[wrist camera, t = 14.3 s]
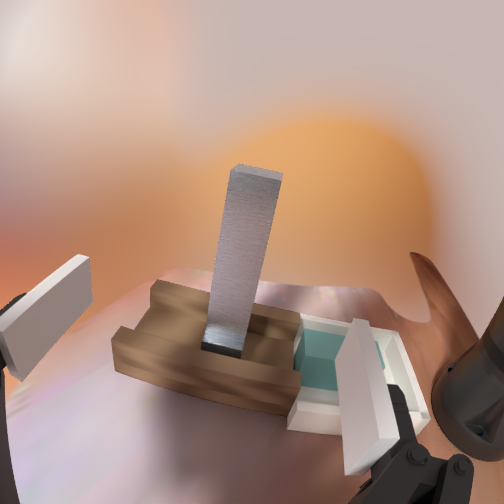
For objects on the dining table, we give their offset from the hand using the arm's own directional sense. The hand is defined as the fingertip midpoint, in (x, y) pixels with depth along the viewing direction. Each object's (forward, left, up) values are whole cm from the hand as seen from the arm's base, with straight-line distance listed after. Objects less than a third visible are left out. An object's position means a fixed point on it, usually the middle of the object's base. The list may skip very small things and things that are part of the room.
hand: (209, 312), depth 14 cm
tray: (-14, -11, -14) cm, 22 cm away
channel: (+1, -11, -14) cm, 17 cm away
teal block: (-9, -11, -13) cm, 20 cm away
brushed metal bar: (0, -11, -12) cm, 16 cm away
